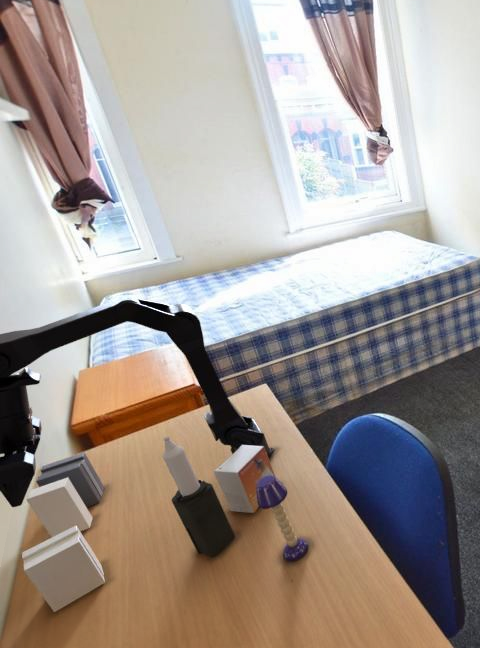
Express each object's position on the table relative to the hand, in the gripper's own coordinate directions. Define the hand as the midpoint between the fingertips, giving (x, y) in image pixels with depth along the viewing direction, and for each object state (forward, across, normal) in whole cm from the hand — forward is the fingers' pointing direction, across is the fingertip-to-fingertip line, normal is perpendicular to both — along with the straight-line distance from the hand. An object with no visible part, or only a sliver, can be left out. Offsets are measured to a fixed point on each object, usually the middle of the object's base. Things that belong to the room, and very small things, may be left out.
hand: (19, 491), depth 82 cm
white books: (+14, +12, +6) cm, 20 cm away
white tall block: (+14, -6, +6) cm, 17 cm away
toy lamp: (+7, +33, +36) cm, 49 cm away
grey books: (+14, -15, +7) cm, 22 cm away
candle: (+10, +20, +26) cm, 34 cm away
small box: (+7, +13, +34) cm, 37 cm away
